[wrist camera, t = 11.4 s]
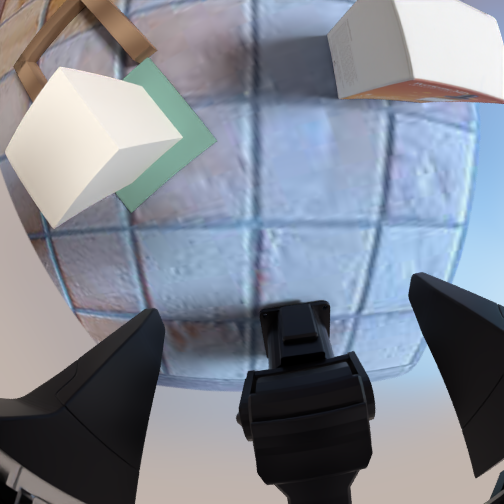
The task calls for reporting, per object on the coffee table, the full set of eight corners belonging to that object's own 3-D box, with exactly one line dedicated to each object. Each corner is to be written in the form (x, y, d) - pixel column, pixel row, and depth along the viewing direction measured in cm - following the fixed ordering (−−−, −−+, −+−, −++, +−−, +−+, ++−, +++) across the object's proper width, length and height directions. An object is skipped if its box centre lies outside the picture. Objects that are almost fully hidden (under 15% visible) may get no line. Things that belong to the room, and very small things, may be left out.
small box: (336, 99, 17) (409, 80, 8) (324, 34, 15) (379, -30, 5) (424, 104, 16) (518, 108, 7) (413, 44, 14) (497, 17, 5)
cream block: (183, 137, 18) (119, 149, 9) (131, 183, 20) (53, 229, 11) (142, 86, 16) (59, 66, 7) (94, 134, 18) (4, 152, 9)
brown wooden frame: (157, 50, 15) (150, 45, 14) (68, 141, 18) (58, 143, 17) (95, -15, 11) (87, -20, 10) (22, 67, 14) (13, 66, 13)
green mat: (217, 140, 19) (216, 141, 18) (132, 211, 21) (131, 212, 21) (149, 57, 15) (147, 57, 15) (74, 134, 18) (72, 135, 18)
